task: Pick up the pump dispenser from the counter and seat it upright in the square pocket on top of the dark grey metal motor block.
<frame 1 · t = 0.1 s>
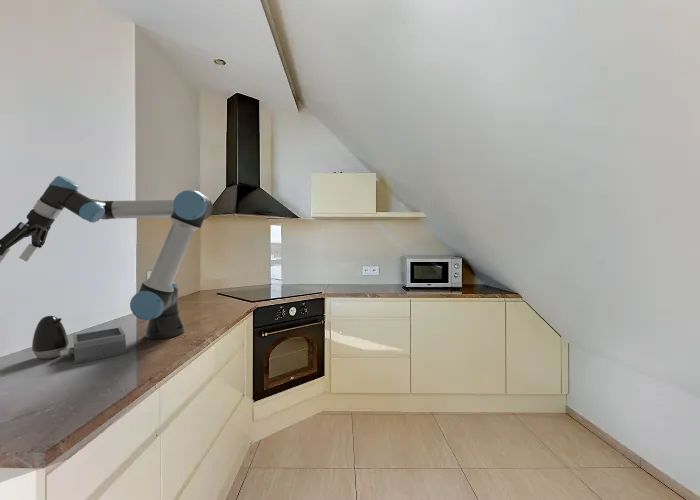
hand: (9, 260, 129), 36 cm above the worktop, tool tilted 35°, fingers open, 13 cm apart
motor block: (100, 353, 129), on the worktop
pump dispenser: (51, 357, 127), on the worktop
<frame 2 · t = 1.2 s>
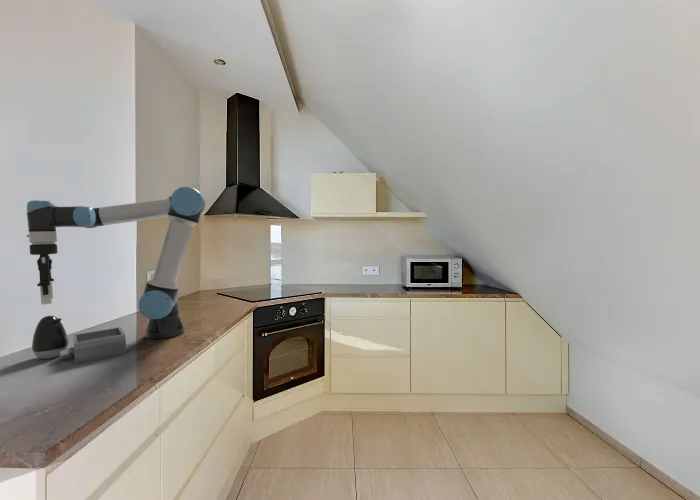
hand: (47, 301, 126), 20 cm above the worktop, tool pointing down, fingers open, 13 cm apart
nothing on the worktop moved.
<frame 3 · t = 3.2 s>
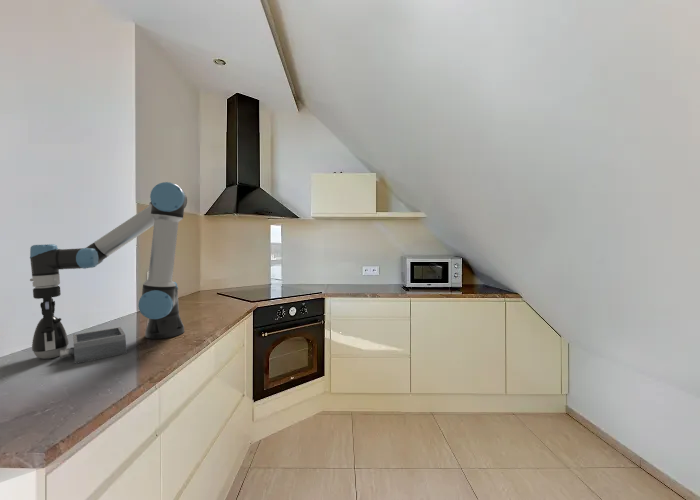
hand: (51, 346, 127), 4 cm above the worktop, tool pointing down, fingers closed on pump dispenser, 10 cm apart
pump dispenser: (51, 357, 127), on the worktop, touching gripper
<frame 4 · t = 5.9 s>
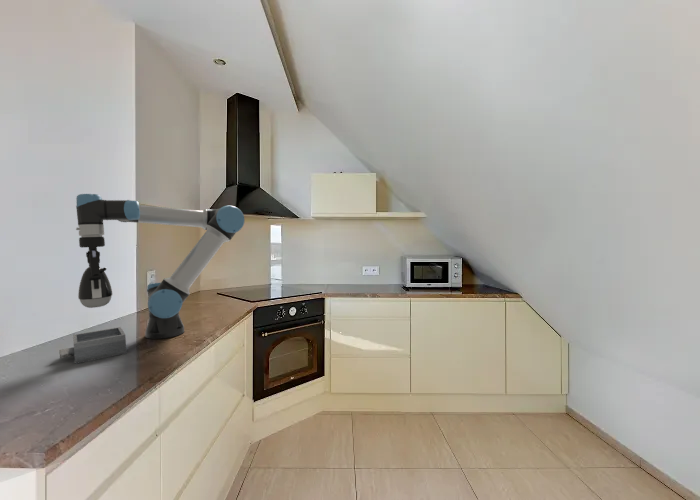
hand: (96, 296, 128), 22 cm above the worktop, tool pointing down, fingers closed on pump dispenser, 10 cm apart
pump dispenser: (96, 306, 128), point 18 cm above the worktop, touching gripper
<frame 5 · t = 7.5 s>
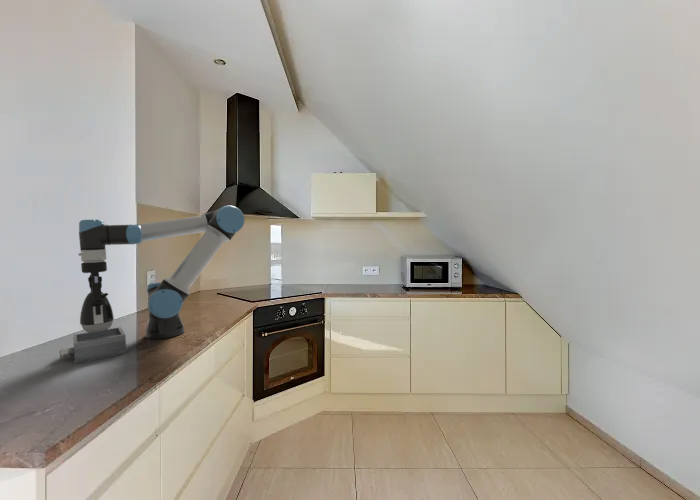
hand: (97, 320, 129), 12 cm above the worktop, tool pointing down, fingers closed on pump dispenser, 10 cm apart
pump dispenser: (98, 331, 129), point 8 cm above the worktop, touching gripper
when the fingers open (10 cm above the worktop, at t = 8.6 s): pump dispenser stays where it is, resting on motor block.
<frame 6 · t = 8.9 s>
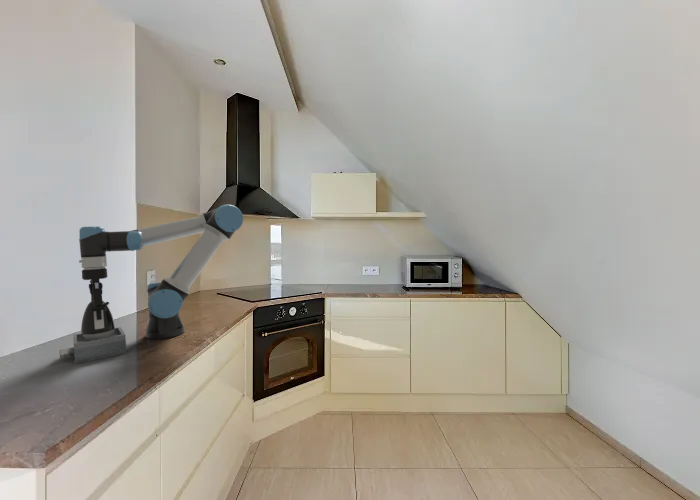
hand: (98, 325, 129), 11 cm above the worktop, tool pointing down, fingers open, 13 cm apart
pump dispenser: (99, 340, 129), point 5 cm above the worktop, touching motor block
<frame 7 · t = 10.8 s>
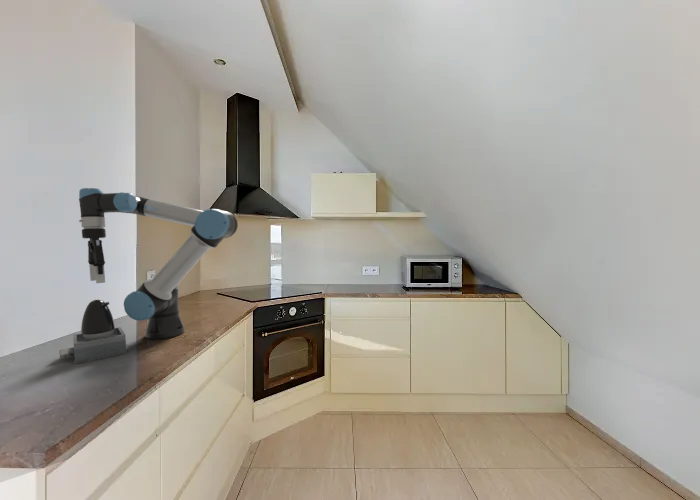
hand: (97, 281, 137), 26 cm above the worktop, tool pointing down, fingers open, 13 cm apart
nothing on the worktop moved.
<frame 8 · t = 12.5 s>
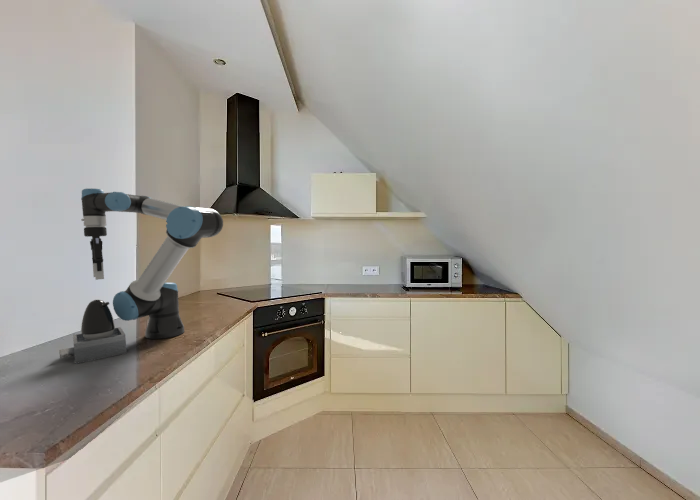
hand: (98, 278, 143), 27 cm above the worktop, tool pointing down, fingers open, 13 cm apart
nothing on the worktop moved.
at the end: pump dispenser inside the target area on the motor block (0.0 cm from its centre), point 4.8 cm above the motor block's base; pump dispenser tilted 0°; the gripper is holding nothing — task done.
